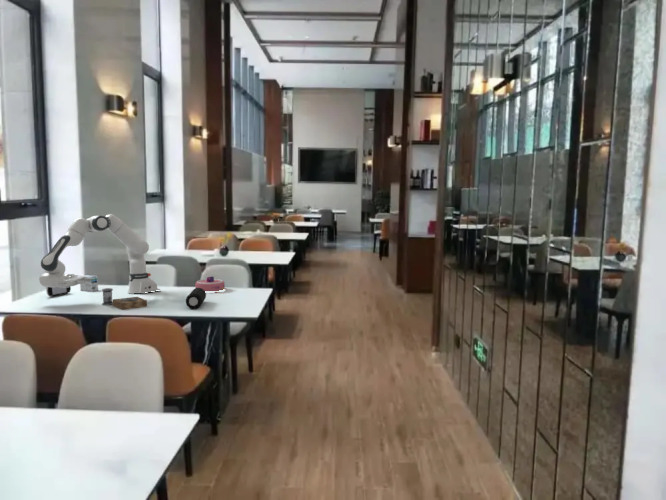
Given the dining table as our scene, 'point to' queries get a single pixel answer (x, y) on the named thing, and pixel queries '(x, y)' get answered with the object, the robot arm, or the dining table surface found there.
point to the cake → (210, 284)
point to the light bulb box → (90, 284)
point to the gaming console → (57, 291)
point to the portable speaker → (195, 298)
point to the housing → (107, 296)
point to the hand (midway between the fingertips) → (87, 281)
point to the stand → (129, 303)
